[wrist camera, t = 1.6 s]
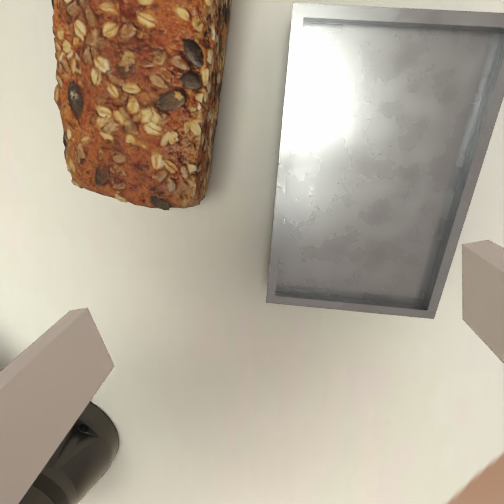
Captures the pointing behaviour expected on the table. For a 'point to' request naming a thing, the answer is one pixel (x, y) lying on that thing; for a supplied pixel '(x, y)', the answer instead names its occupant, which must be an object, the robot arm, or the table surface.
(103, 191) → the bread
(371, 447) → the table surface
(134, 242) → the table surface
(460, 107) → the grey serving tray
